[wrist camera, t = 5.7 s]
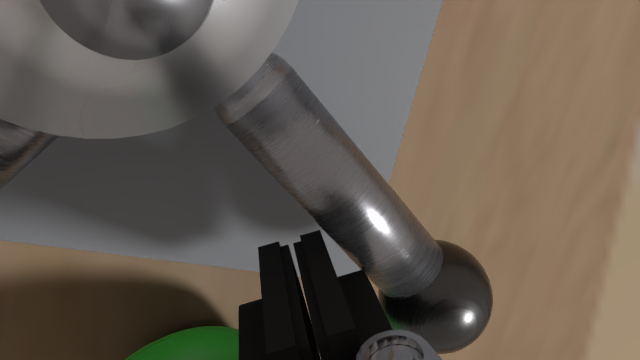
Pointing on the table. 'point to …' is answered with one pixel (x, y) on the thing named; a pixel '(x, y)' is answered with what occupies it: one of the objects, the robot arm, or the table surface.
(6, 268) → the table surface
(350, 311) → the robot arm
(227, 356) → the speaker
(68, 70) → the capstan
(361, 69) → the stand
